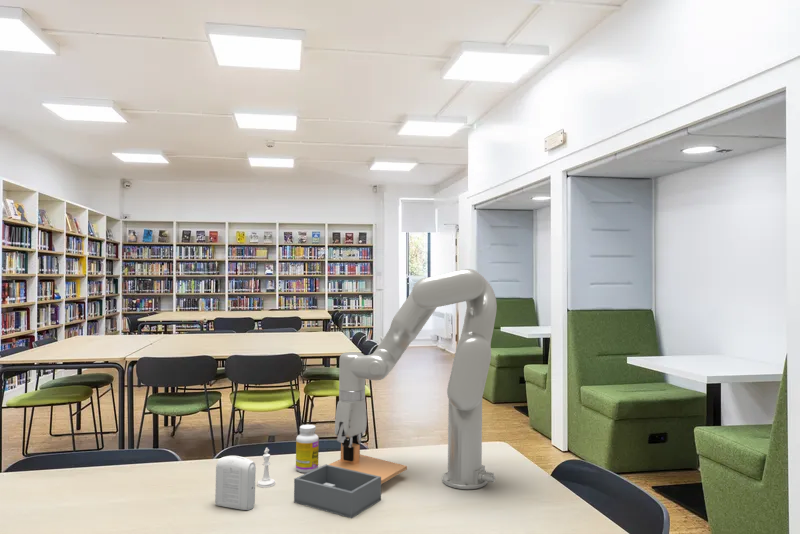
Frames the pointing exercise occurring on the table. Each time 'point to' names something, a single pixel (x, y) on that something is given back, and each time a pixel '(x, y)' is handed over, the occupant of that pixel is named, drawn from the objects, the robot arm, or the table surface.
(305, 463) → the supplement bottle
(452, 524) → the table surface
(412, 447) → the table surface
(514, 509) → the table surface
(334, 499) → the tub
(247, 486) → the photo printer
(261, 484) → the chess piece
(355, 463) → the lid
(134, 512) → the table surface
